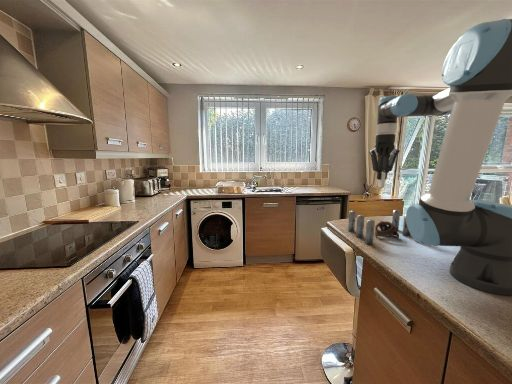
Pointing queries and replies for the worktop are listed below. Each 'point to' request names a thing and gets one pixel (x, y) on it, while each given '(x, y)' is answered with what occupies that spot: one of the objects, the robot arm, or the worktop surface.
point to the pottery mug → (386, 229)
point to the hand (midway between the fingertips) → (380, 186)
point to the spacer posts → (371, 224)
